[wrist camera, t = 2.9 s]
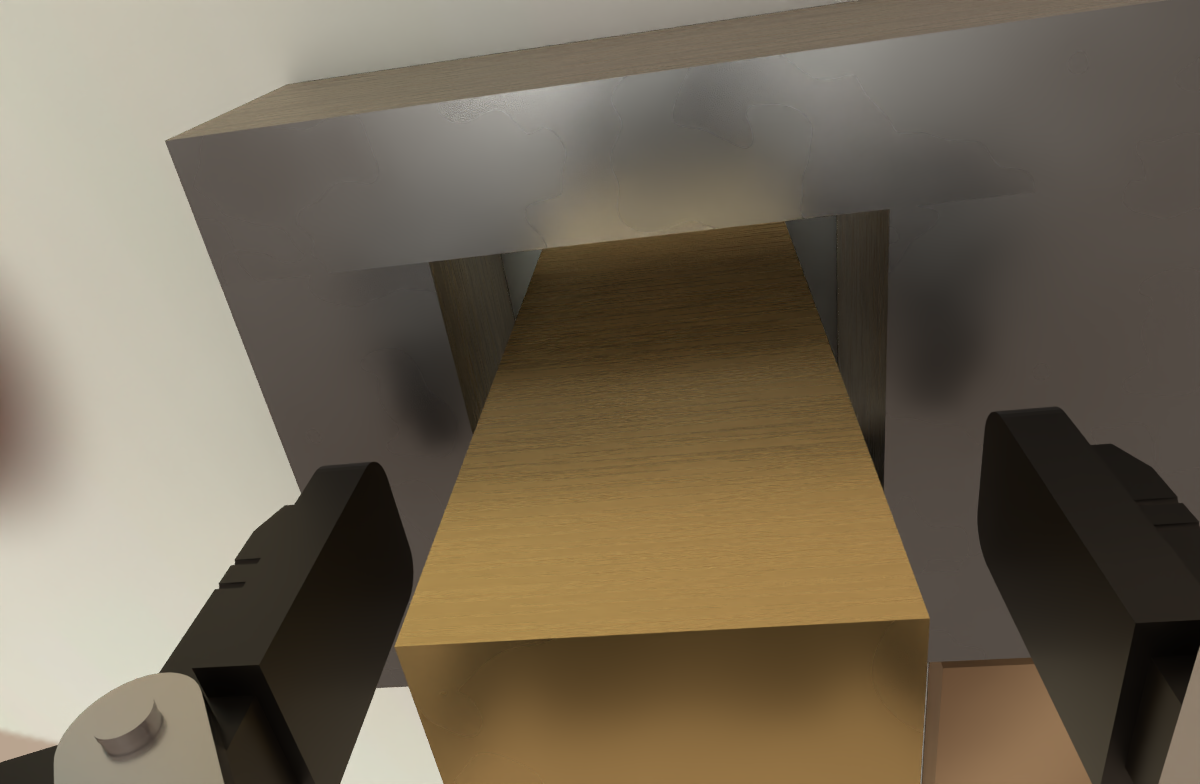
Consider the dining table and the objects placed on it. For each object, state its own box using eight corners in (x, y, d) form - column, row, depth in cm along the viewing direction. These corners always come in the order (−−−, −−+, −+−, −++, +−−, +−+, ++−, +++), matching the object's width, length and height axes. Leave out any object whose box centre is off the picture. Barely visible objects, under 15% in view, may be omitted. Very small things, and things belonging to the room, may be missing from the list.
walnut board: (1527, 604, 18) (1571, 639, 17) (1395, 862, 22) (1425, 901, 21) (930, 634, 19) (942, 668, 18) (916, 869, 24) (926, 906, 23)
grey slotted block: (2006, -169, 11) (2607, -203, 8) (1658, 461, 16) (1933, 615, 12) (287, 84, 14) (165, 140, 11) (429, 546, 19) (376, 688, 16)
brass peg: (777, 200, 15) (929, 619, 6) (785, 399, 17) (911, 931, 8) (550, 227, 15) (394, 647, 7) (584, 416, 17) (498, 934, 9)
